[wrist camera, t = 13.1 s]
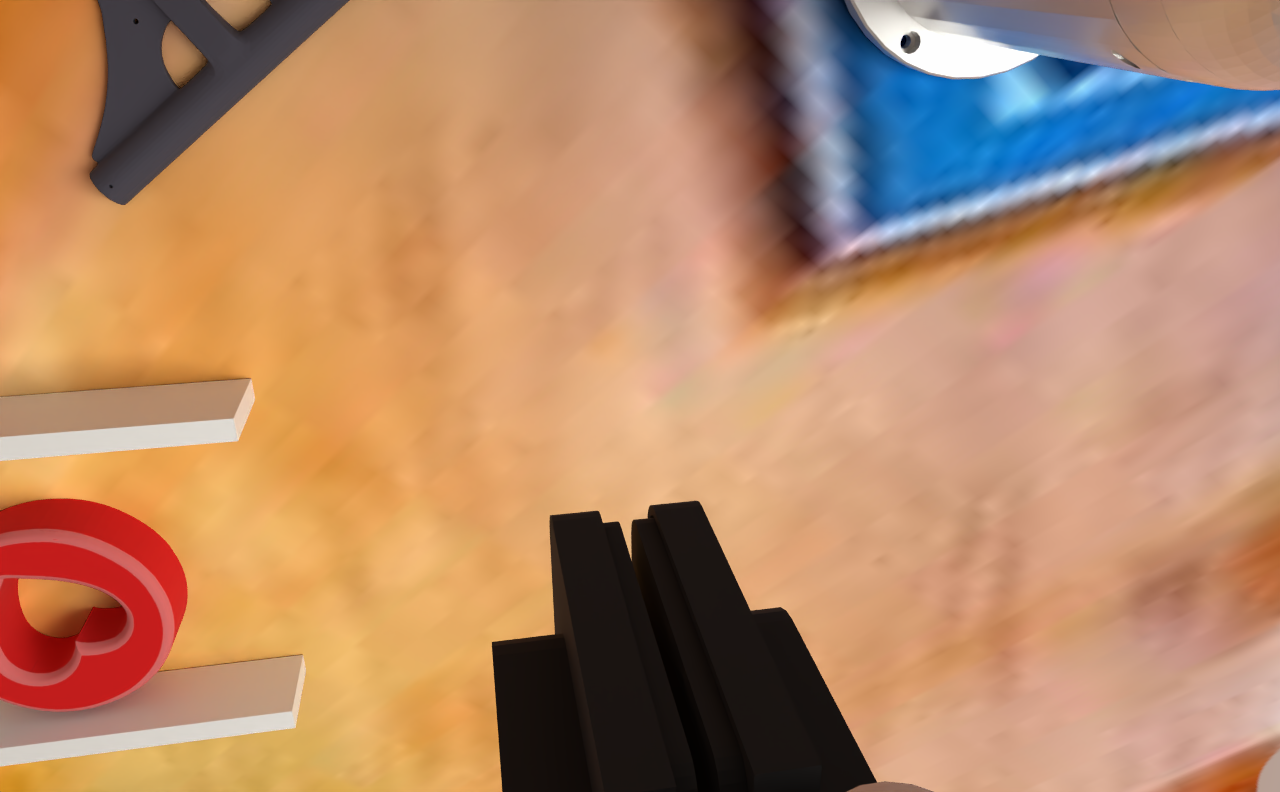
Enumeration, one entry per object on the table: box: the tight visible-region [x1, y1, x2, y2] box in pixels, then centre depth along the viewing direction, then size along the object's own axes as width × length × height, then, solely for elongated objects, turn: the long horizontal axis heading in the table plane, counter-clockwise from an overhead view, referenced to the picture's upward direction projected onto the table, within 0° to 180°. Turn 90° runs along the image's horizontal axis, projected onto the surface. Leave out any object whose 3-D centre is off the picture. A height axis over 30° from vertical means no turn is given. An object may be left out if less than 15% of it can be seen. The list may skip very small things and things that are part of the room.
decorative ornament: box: [0, 499, 187, 712], centre depth 44 cm, size 10×10×3 cm
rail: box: [0, 379, 306, 766], centre depth 42 cm, size 16×16×4 cm
